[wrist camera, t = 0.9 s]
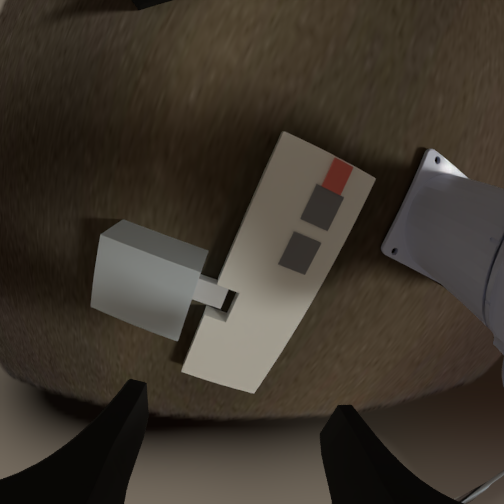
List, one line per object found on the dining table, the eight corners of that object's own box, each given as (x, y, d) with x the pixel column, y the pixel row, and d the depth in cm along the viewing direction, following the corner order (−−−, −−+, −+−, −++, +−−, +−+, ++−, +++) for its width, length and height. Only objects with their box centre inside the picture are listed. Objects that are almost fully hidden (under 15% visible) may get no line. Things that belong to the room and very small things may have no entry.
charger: (238, 260, 19) (236, 285, 15) (214, 320, 20) (208, 351, 17) (124, 218, 18) (100, 234, 14) (111, 282, 19) (90, 306, 16)
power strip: (368, 176, 17) (377, 178, 15) (253, 383, 22) (254, 395, 21) (281, 132, 16) (284, 130, 14) (183, 361, 21) (180, 373, 20)
